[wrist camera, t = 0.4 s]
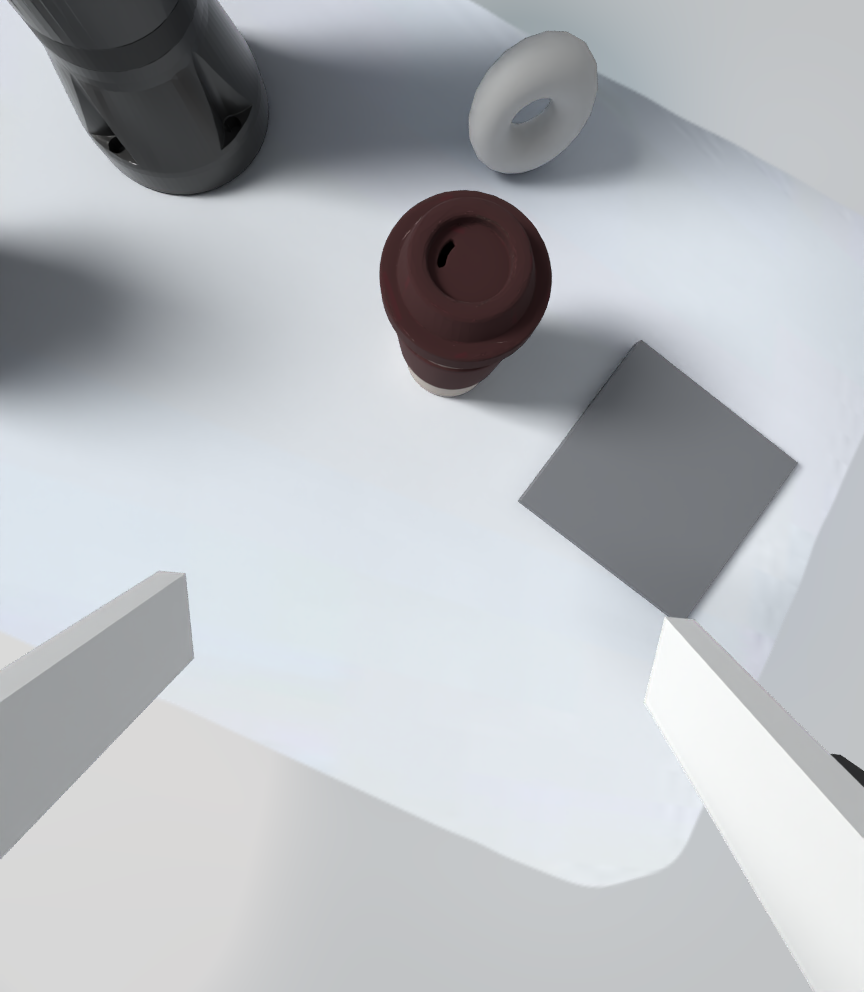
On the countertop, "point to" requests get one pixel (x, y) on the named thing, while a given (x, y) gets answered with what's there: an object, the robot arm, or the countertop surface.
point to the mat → (658, 482)
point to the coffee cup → (463, 287)
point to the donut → (522, 80)
